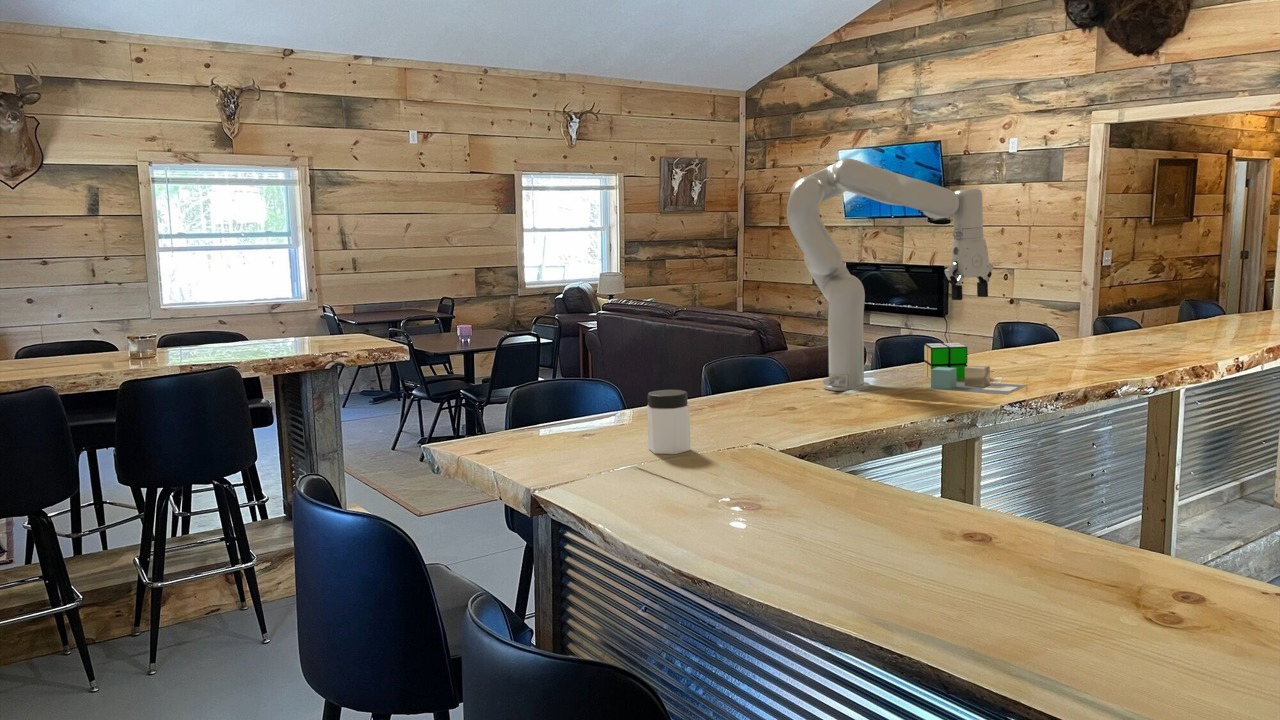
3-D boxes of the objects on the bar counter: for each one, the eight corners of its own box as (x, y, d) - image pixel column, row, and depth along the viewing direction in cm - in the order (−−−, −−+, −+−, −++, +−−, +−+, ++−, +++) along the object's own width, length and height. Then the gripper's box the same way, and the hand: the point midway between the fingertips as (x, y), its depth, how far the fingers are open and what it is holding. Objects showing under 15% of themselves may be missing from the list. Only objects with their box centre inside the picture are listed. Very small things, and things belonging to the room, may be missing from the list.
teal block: (949, 389, 245) (949, 370, 244) (930, 387, 248) (930, 369, 247) (956, 386, 249) (956, 368, 248) (938, 385, 252) (938, 367, 251)
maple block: (983, 387, 246) (983, 368, 245) (964, 385, 249) (964, 367, 248) (989, 384, 250) (989, 366, 249) (971, 383, 253) (971, 365, 252)
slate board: (1007, 397, 234) (1007, 394, 234) (926, 391, 247) (926, 388, 247) (1027, 388, 246) (1027, 384, 246) (949, 382, 259) (949, 379, 259)
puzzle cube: (959, 376, 271) (959, 342, 269) (967, 381, 261) (967, 346, 259) (924, 377, 272) (923, 343, 270) (931, 382, 262) (931, 347, 260)
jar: (670, 443, 197) (668, 387, 195) (698, 448, 191) (696, 391, 189) (640, 451, 191) (637, 393, 189) (667, 456, 185) (665, 397, 183)
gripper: (956, 236, 243) (957, 301, 245) (1002, 232, 251) (1003, 295, 253) (934, 237, 250) (936, 301, 252) (980, 234, 258) (981, 295, 260)
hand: (970, 298), depth 253 cm, fingers open, 9 cm apart
